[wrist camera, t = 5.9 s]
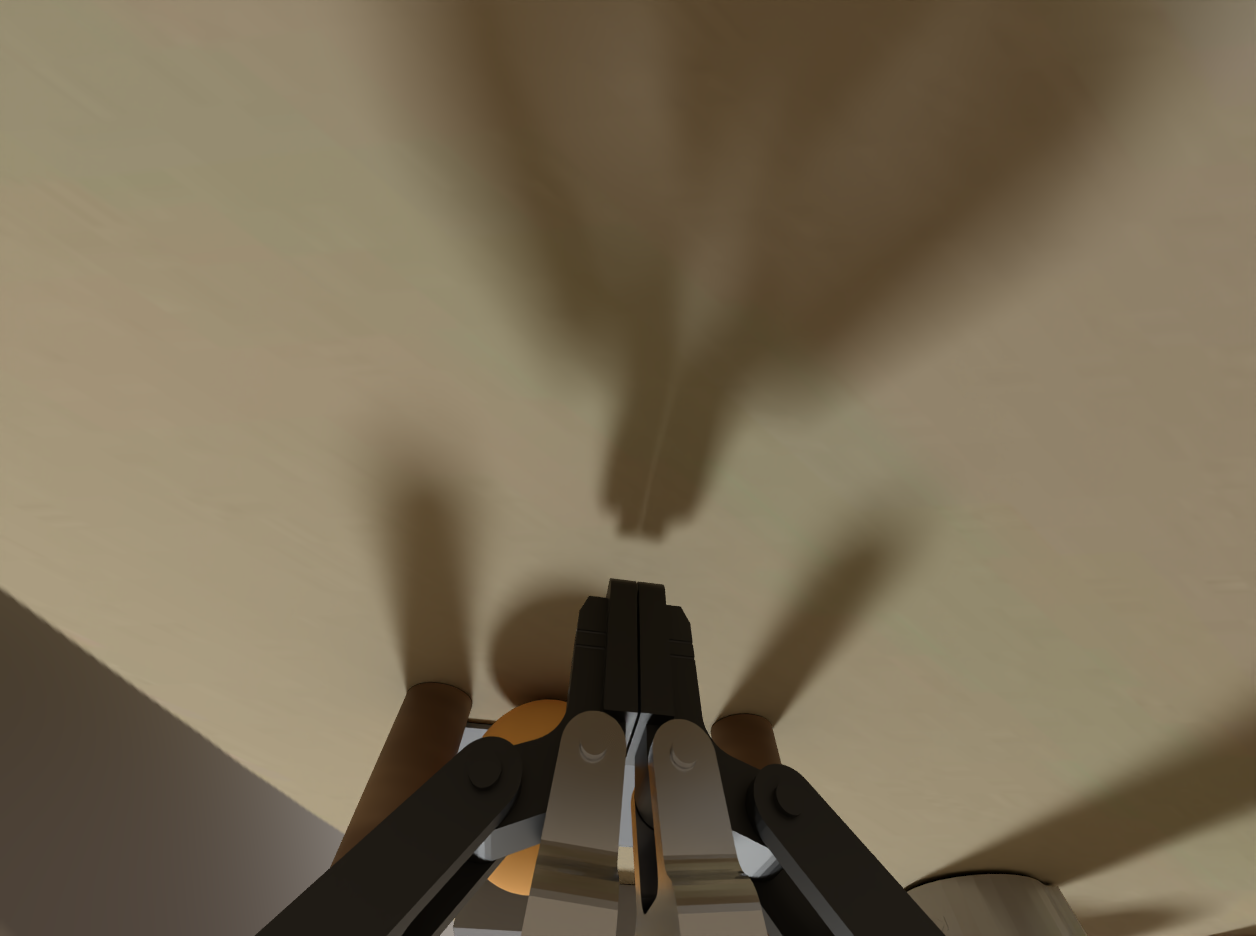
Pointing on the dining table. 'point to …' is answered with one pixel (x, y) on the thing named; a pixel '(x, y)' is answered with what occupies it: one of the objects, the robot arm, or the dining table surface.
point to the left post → (410, 754)
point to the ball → (516, 729)
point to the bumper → (499, 915)
